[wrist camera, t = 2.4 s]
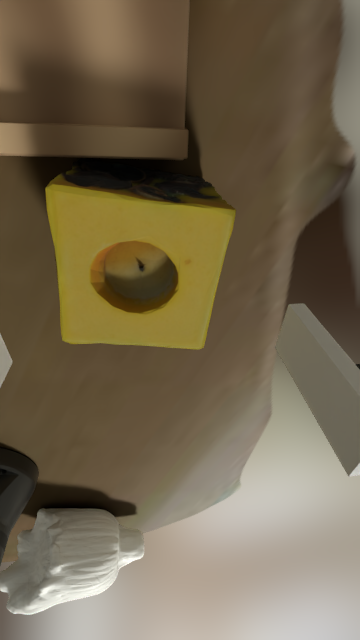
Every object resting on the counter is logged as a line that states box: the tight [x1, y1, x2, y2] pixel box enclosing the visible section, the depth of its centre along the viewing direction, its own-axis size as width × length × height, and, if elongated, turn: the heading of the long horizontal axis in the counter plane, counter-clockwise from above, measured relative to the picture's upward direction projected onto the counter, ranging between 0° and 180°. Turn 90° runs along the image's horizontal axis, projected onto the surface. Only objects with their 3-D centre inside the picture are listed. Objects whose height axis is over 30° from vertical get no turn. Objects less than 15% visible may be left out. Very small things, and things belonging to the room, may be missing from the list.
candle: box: [45, 158, 236, 349], centre depth 21 cm, size 10×10×10 cm
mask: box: [0, 508, 144, 615], centre depth 52 cm, size 14×14×25 cm
